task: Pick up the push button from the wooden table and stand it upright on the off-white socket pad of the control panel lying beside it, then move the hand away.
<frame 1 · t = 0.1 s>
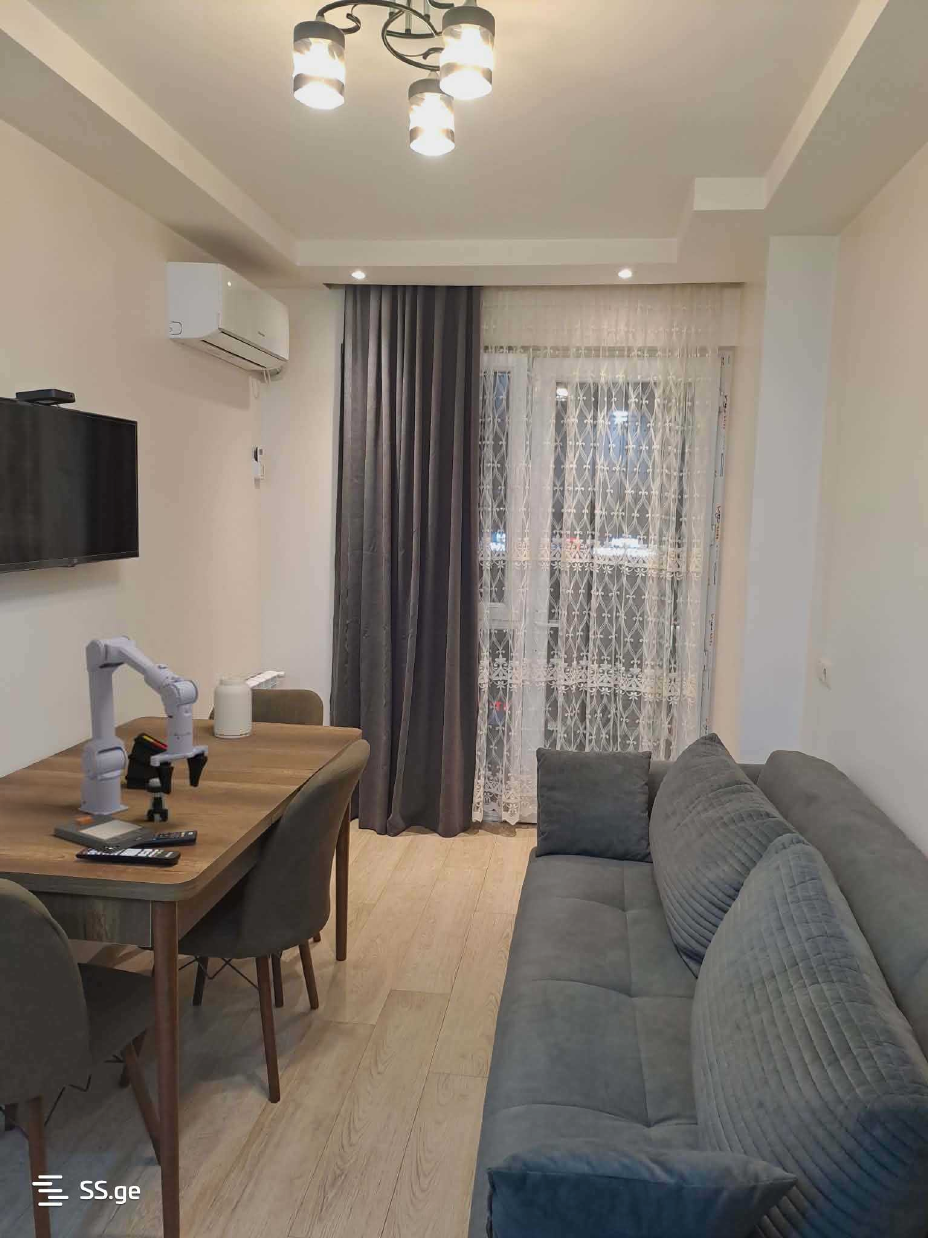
hand: (180, 790, 207), 10 cm above the table, tool pointing down, fingers open, 7 cm apart
control panel: (105, 836, 203), on the table
white jar: (233, 735, 304), on the table
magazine: (151, 789, 241), on the table
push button: (155, 821, 215), on the table
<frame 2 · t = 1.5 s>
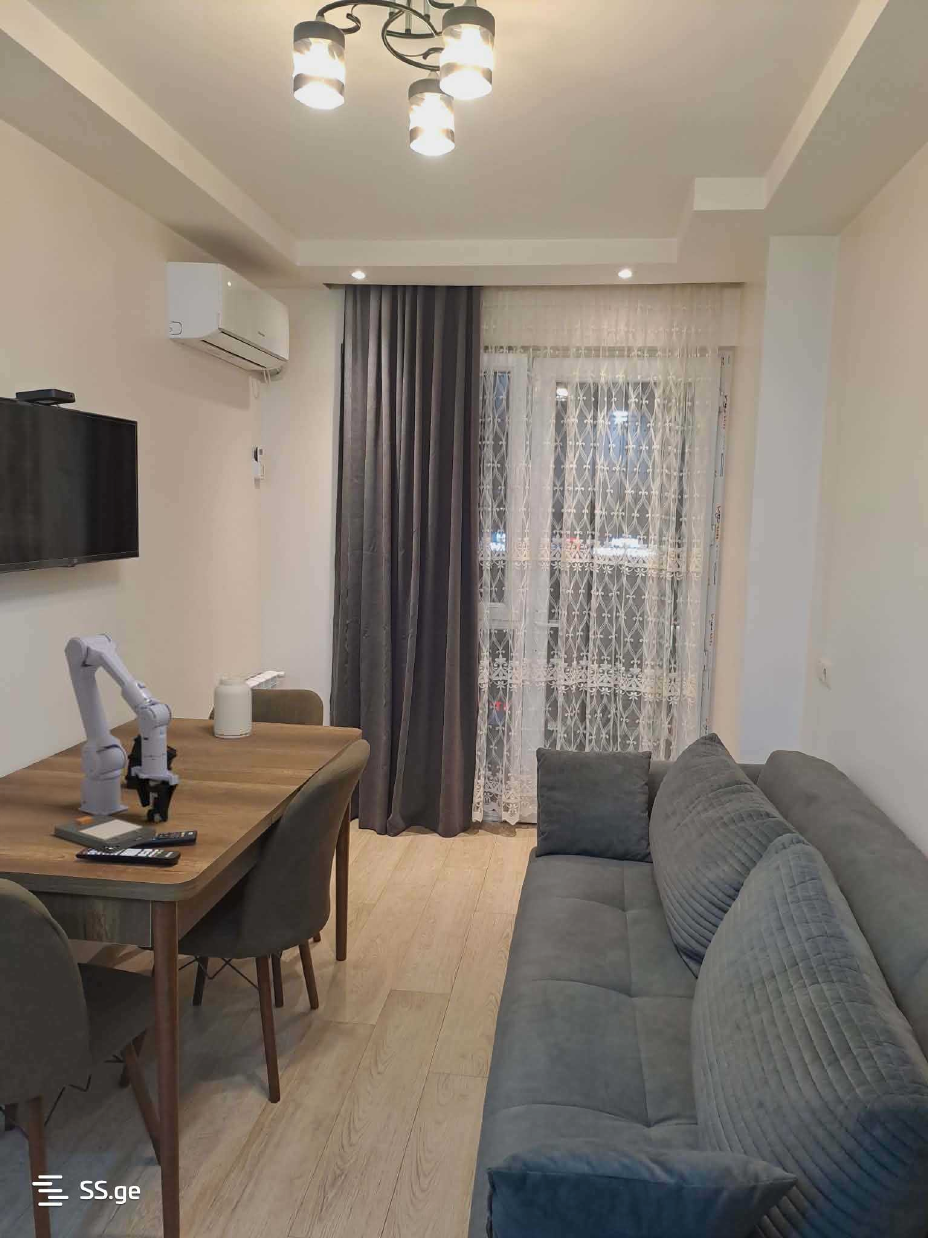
hand: (155, 808, 215), 3 cm above the table, tool pointing down, fingers open, 6 cm apart
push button: (155, 821, 215), on the table, touching gripper
everything else where it was.
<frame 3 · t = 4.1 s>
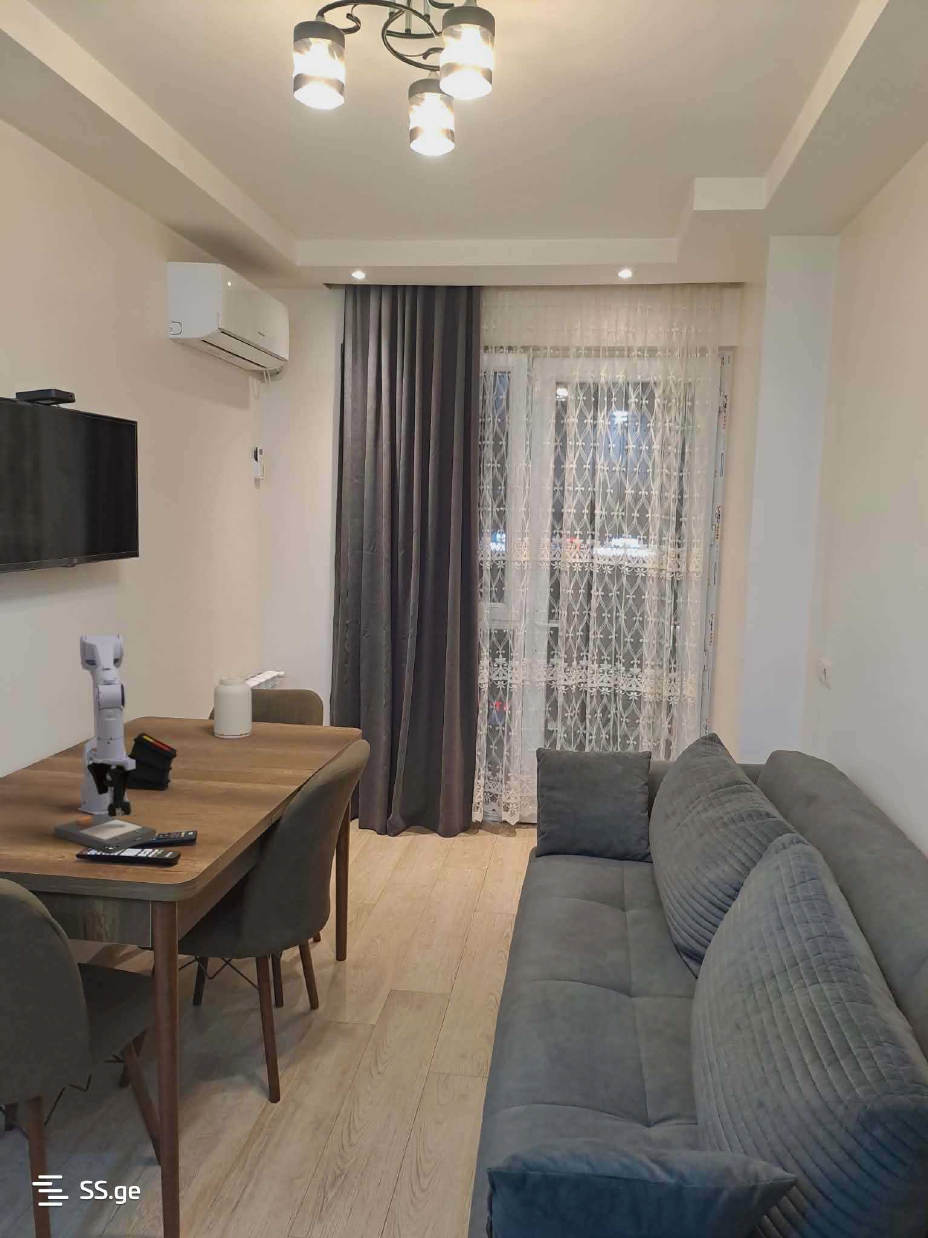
hand: (111, 795, 201), 10 cm above the table, tool pointing down, fingers closed on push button, 5 cm apart
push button: (117, 815, 204), point 5 cm above the table, touching gripper
everything else where it was.
when the fingers open (6 cm above the table, at t = 5.6 s): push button stays where it is, resting on control panel.
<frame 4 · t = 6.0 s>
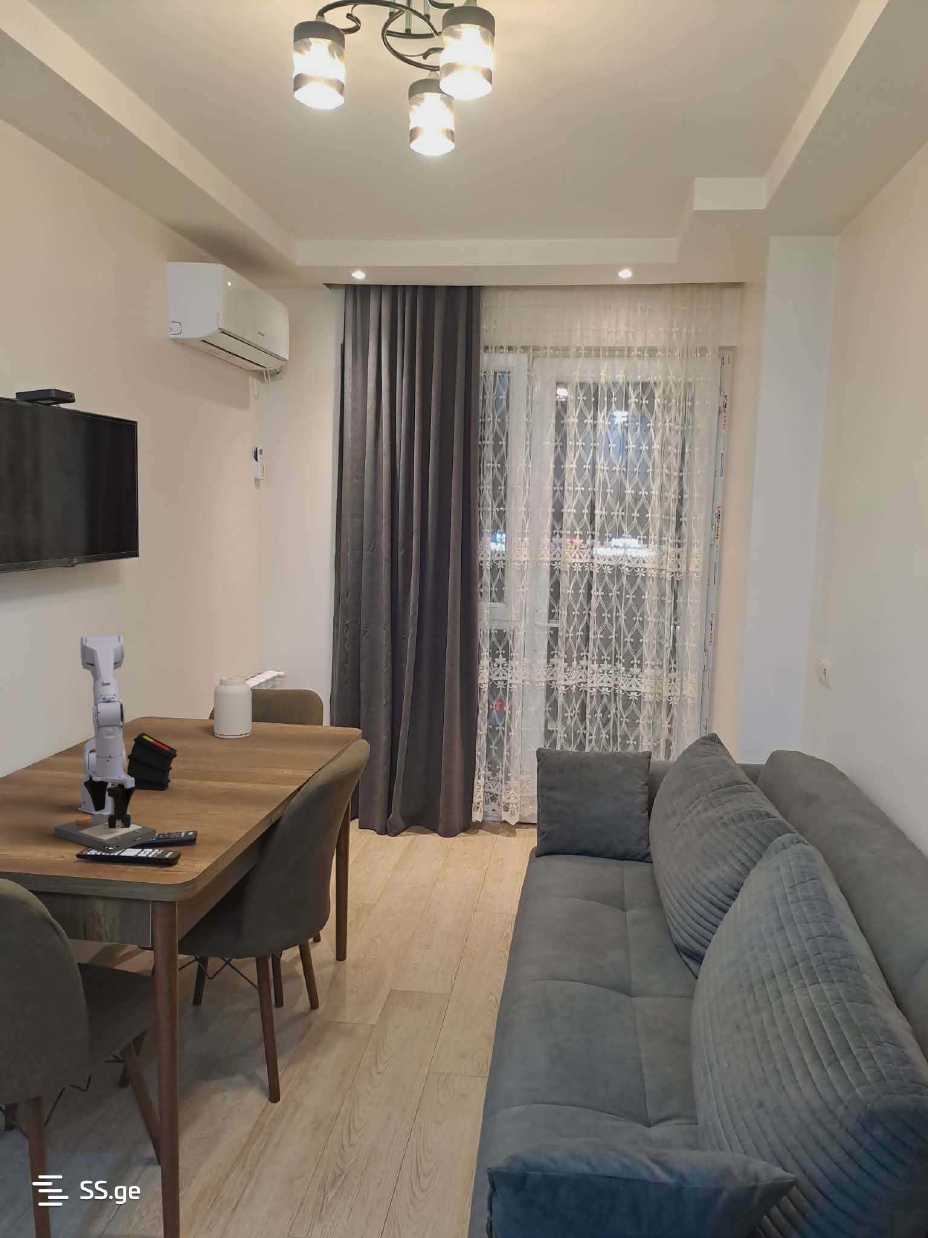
hand: (110, 813, 202), 6 cm above the table, tool pointing down, fingers open, 7 cm apart
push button: (116, 827, 204), point 2 cm above the table, touching control panel
everything else where it was.
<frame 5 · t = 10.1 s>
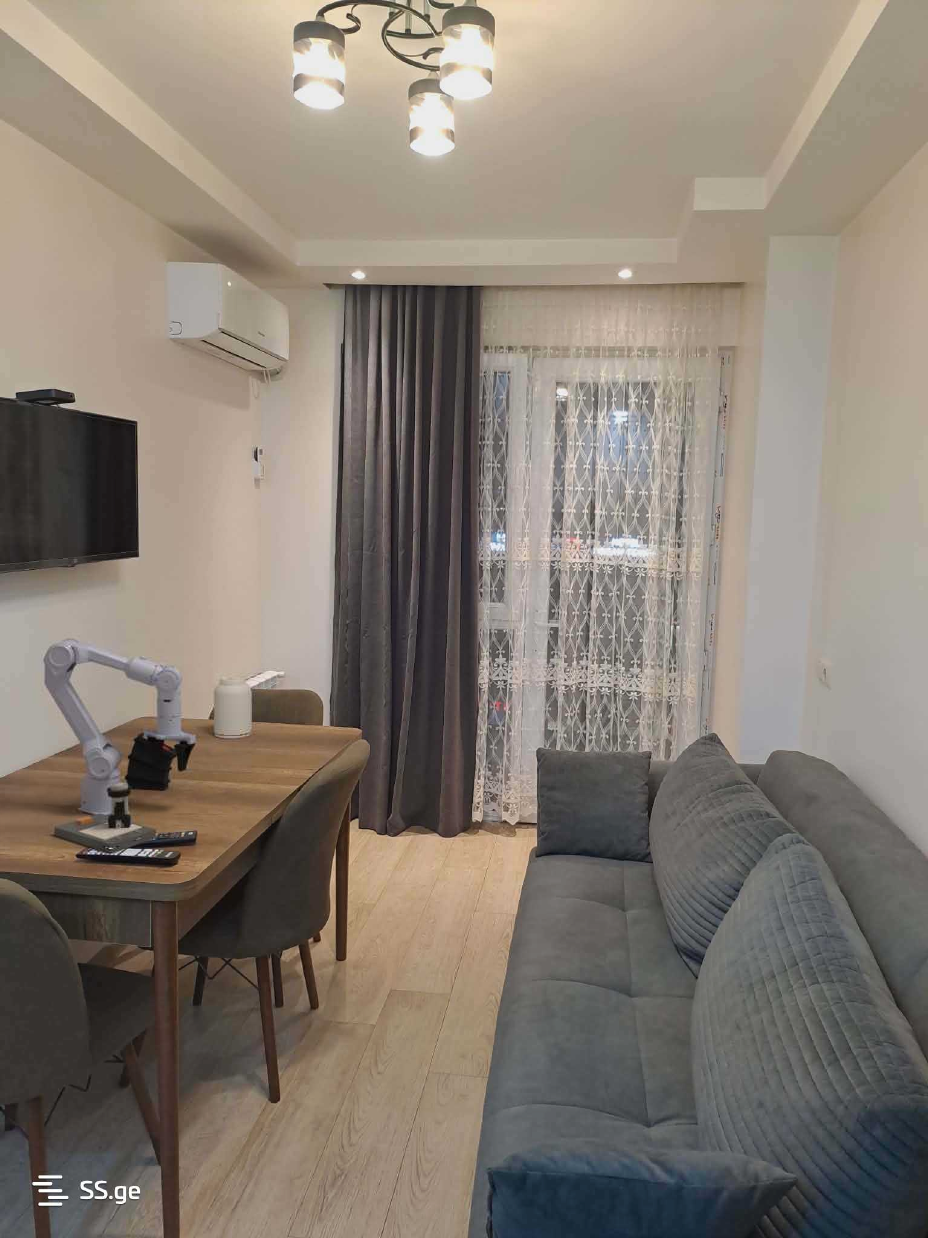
hand: (169, 768, 223), 10 cm above the table, tool pointing down, fingers open, 7 cm apart
nothing on the table moved.
at the end: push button inside the target area on the control panel (1.8 cm from its centre), point 2.0 cm above the control panel's base; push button tilted 0°; the gripper is holding nothing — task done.
